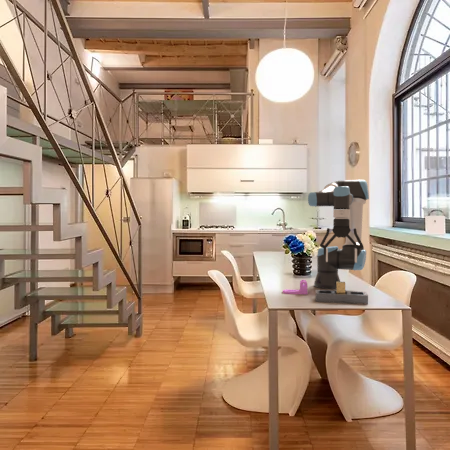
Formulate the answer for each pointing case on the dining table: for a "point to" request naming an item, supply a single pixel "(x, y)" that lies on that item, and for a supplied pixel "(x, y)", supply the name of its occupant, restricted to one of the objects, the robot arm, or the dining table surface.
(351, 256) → the robot arm
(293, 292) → the bracket
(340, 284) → the brass block
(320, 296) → the dark grey tray
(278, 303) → the dining table surface
